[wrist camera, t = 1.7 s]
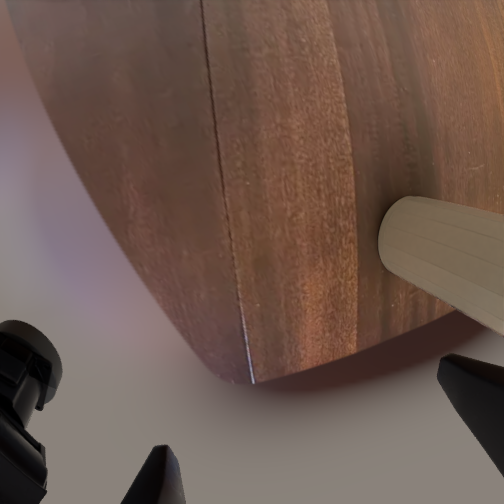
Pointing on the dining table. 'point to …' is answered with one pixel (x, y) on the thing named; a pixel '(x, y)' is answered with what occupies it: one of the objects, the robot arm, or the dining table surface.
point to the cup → (448, 254)
